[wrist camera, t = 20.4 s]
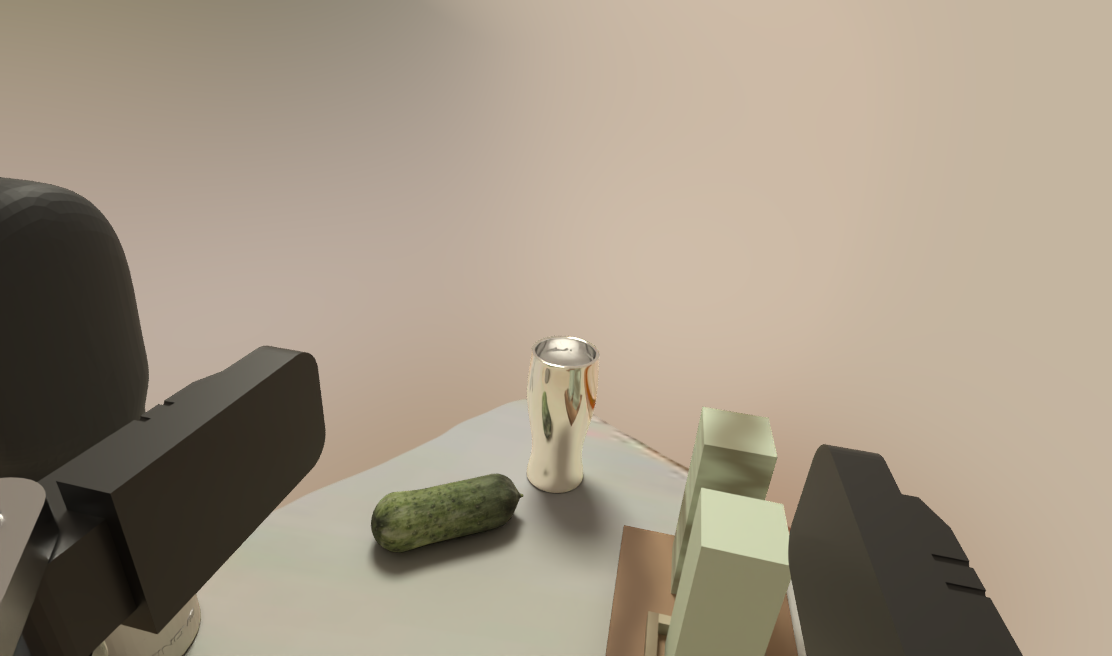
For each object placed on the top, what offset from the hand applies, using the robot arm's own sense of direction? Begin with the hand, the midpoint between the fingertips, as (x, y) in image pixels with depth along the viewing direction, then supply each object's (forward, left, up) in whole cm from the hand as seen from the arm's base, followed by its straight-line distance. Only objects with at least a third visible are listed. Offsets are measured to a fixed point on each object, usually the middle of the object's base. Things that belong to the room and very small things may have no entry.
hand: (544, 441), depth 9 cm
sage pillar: (+9, +20, -34) cm, 40 cm away
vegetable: (-14, +31, -35) cm, 49 cm away
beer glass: (-6, +41, -35) cm, 54 cm away
